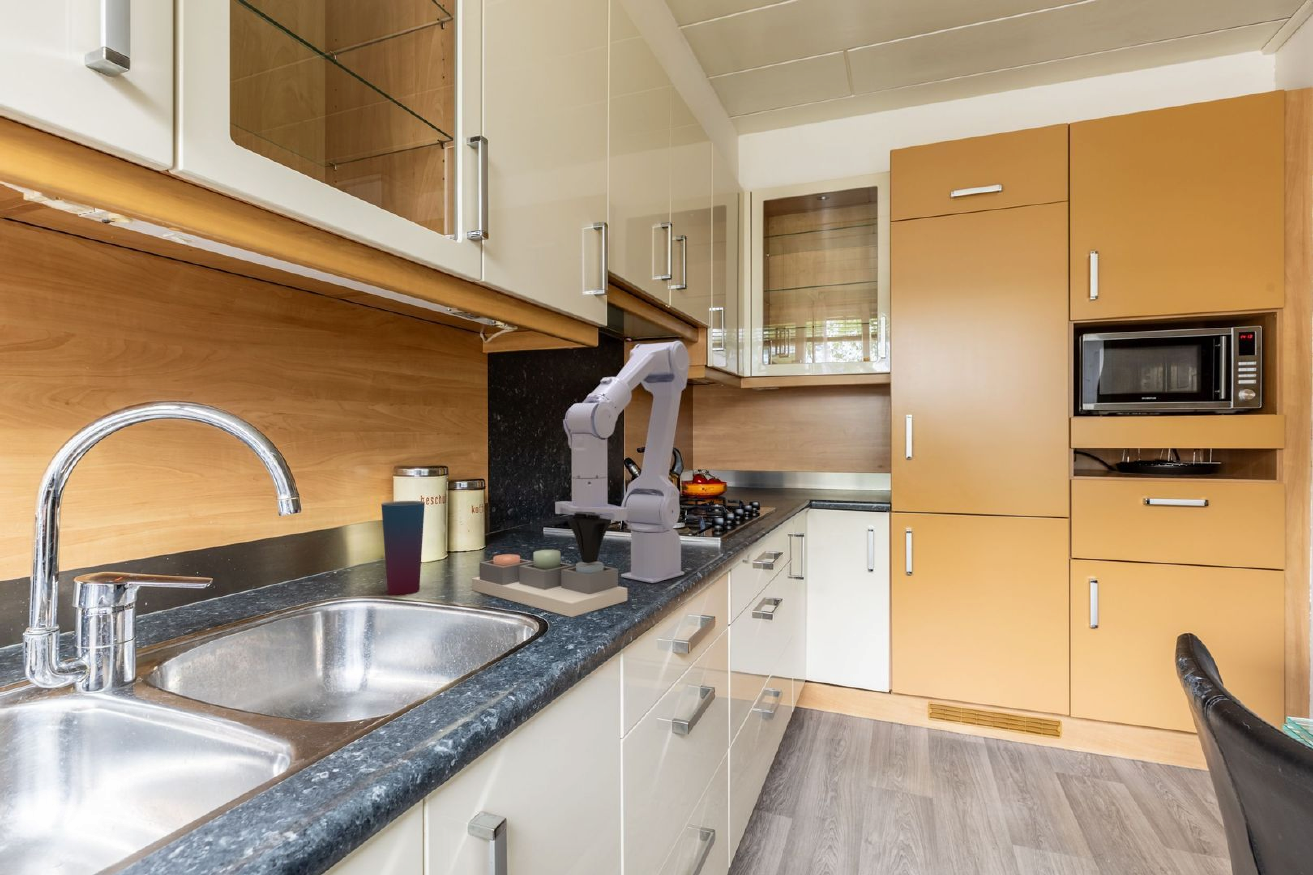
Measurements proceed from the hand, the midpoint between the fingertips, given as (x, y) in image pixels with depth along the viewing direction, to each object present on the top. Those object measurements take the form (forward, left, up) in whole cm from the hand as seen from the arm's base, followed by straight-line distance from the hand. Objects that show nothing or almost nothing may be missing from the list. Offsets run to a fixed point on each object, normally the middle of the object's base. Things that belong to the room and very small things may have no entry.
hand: (589, 561), depth 103 cm
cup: (+17, -28, -6) cm, 33 cm away
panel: (+3, -7, -6) cm, 10 cm away
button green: (+3, -8, -1) cm, 8 cm away
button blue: (0, 0, -3) cm, 3 cm away
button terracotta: (+5, -15, -3) cm, 16 cm away
